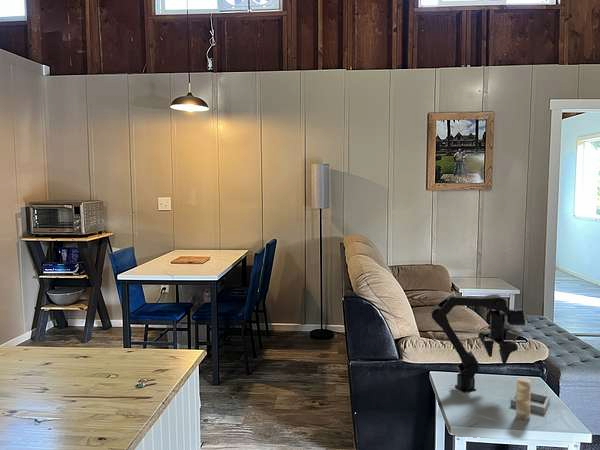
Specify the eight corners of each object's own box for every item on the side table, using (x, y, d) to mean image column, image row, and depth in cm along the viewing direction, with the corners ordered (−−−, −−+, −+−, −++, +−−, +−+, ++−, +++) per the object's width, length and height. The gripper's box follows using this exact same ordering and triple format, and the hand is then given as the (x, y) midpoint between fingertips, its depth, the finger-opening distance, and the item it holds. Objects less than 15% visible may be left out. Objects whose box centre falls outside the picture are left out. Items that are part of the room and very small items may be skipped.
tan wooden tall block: (517, 419, 169) (518, 382, 168) (514, 413, 174) (515, 377, 173) (531, 420, 168) (532, 383, 167) (528, 414, 172) (528, 378, 172)
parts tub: (510, 405, 180) (510, 399, 179) (517, 394, 189) (517, 389, 189) (544, 414, 172) (544, 407, 172) (549, 402, 182) (549, 396, 182)
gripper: (529, 329, 185) (528, 366, 186) (499, 317, 203) (499, 351, 204) (505, 331, 182) (505, 369, 183) (477, 319, 201) (477, 353, 202)
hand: (497, 360), depth 193 cm, fingers open, 9 cm apart
